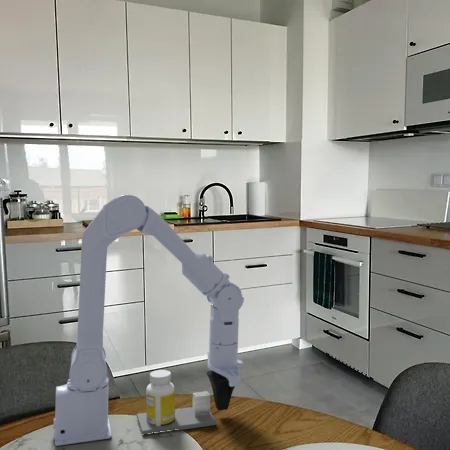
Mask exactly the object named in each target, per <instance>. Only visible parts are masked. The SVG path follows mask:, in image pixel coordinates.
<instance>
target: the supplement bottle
mask: <svg viewBox="0 0 450 450" xmlns="http://www.w3.org/2000/svg"><path fill="white" fill-rule="evenodd" d="M171 381H172V373H171V371H170V370H166V369H157V370H154V371H151V372H150V373H149V382H150V383H149V384H148V385H147V387H146V390H145V394H146V396H145V402H146V406H145V407H146V411H145V413H146V416H147V422H148V423H149V424H150V425H153V426H166V425H169V424H171V423H173V422H174V421H175V409H176V393H175V392H176V390H175V388H176V387H175V385H174V383H173V382H171Z"/></svg>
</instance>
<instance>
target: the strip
mask: <svg viewBox="0 0 450 450" xmlns="http://www.w3.org/2000/svg"><path fill="white" fill-rule="evenodd" d="M136 418H137V419H138V420H137V419H136V420H137V423H138V422H139V423H138V426H139V425H140V426H139V429H140V428H141V429H140V432H142V433H141V435H142V434H148V433H152V432H153V433H154V432H160V431H167V430H175V429H180V430H179V431H181V430H189V429H191V430H192V429H197V428H202V427H203V428H205V427H210V426H217V420H216V418H215V417H214V415H213V414H212V412H211V394H210V393H209V391H208V390H204V391H197V392H192V406H190V407H188V406H187V407H182V408H175V421H174V422H173V423H171V424H169V425H166V426H153V425H150V424H149V423H148V422H147V416H146V412H143V413H142V412H141V413H136ZM148 435H149V434H148Z"/></svg>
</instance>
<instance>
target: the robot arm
mask: <svg viewBox="0 0 450 450" xmlns="http://www.w3.org/2000/svg"><path fill="white" fill-rule="evenodd" d="M135 230H137V231H139V232H140V233H141V234H142V233H143V234H146V235H150V236H152V237H153V238H155V239H156V240H157V241H158V243H160V244H161V245H162V246H163V247H164V248H165V249H167V251H168V252H169V253H170V254H171V255H173V256H174V257H175V259H176V260H177V261H179V262H180V263H181V274H182V275H183V276H184V277H185V278H186V279H187V280H188V281H189V282H190V283H191V284H192V285H193V287H195V288H196V289H197V290H198V291H199V292H200V293H201V294H203V296H205V297H206V299H207V301H208V303H210V304H211V305H210V317H209V339H208V340H209V341H208V345H209V346H208V352H207V368H208V369H209V370H208V371H206V375H207V377H208V380H209V382H210V385H211V388H212V389H211V390H212V393H213V399H214V404H215V405H214V406H215V408H216V409H217V411H224V410H225V411H226V410H228V409H229V406H230V402H231V399H232V395H233V392H234V389H235V387H241V379H242V377H241V376H242V375H240V371H239V369H240V367H243V366H244V362H243V361H242V360H241V359H239V357H238V356H239V355H238V353H239V325H240V324H239V321H240V319H239V313H240V312H239V310H240V309H241V308H242V306H243V305H244V301H245V297H243V293H242V290H241V288H240V287H239V286H238V285H236V284H234V283H232V282H231V281H230V280H229V279H230V277H231V276H230V275H229V274H228V273H227V272H223V271H222V270H221V269H220V268H219V267H218V265H216V263H214V261H215V259H214V257H212V255H210V254H207V255H206V254H205V253H204V252H201V251H200V252H194V251H193V249H191V248H190V247H189V245H187V243H186V242H185V241H184V240H183V239H182V237H180V236H179V235H178V233H176V231H175V230H174V229H173V228H172V227H171V225H169V224H168V223H167V221H166V220H165V219H164V218H163V217H162V216H161V215H159V214H158V213H157V212H156V211H155V210H154V209H152V208H151V207H150V206H148V205H145V203H144V202H143V200H141V198H139V197H138V196H136V195H132V194H123V195H119V196H117V197H115V198H113V199H112V200H110V201H109V202H107V203H106V204H104V205H103V207H102V208H101V209H100V210H99V212H98V213H97V214H96V215H95V217H94V218H93V219H92V220H91V222H90V223H88V226H87V227H86V228H85V229H84V231H83V232H82V235H81V252H80V273H79V294H78V315H77V316H78V317H77V334H76V345H75V347H74V348H73V350H72V352H71V354H70V355H71V358H70V360H71V364H70V368H69V372H68V373H69V378H68V379H67V383H66V384H63V385H59V386H58V385H57V386H55V406H54V407H55V409H54V413H55V416H54V417H53V422H52V423H53V427H52V428H53V430H54V431H55V432H54V446H58V447H59V446H65V445H71V444H79V443H87V442H93V441H99V440H100V441H101V440H108V439H111V438H112V437H113V434H112V430H111V429H112V427H111V424H110V419H109V380H110V379H109V377H108V376H107V375H108V367H107V364H106V357H107V356H106V354H107V353H106V351H105V350H106V349H105V348H104V346H103V345H104V322H105V321H104V320H105V319H104V317H105V316H104V315H105V299H106V279H107V275H106V274H107V257H108V248H109V246H110V245H112V243H113V242H115V241H116V240H117V239H118V238H120V237H121V236H123V235H125V234H127V233H131V232H132V231H135Z"/></svg>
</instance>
